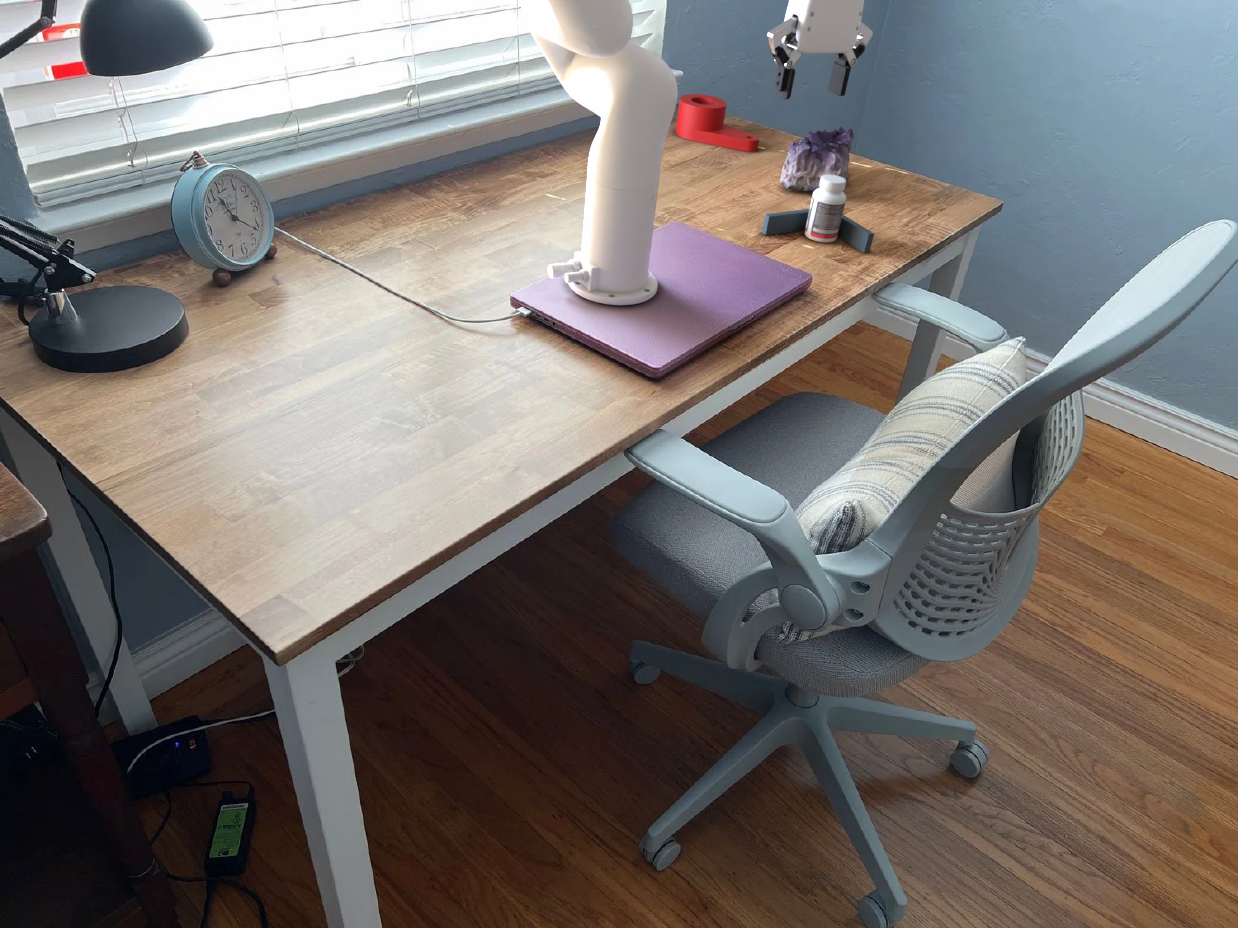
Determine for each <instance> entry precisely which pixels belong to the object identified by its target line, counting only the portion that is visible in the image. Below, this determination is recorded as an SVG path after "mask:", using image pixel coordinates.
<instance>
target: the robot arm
mask: <svg viewBox="0 0 1238 928" xmlns="http://www.w3.org/2000/svg"><path fill="white" fill-rule="evenodd" d="M864 4H865V0H788V4H787V8H786V11H785V16H784V21H782V22H781V23H779V24H778V25H776V26H775V27H773V28H772V29H770V30H769V31H768V32H767V39H768V45H769V47H770V48H769V52H770V54H771V56H772V57H773V59H774V63H775V64H776V65H777V67H776V73H775V77H774V83H773V90H772V91H773V94H774V95H775V96H777V97H779V98H781V99H783V100H790V98H791V97H792V90H793V88H794V87H793V86H794V81H795V76H796V69H795V68H793V67H794V66H795V64H796V63H797V62H798V61H799V60H800V58H802V56H803V55H826V54H828V55H829V54H830V55H831V54H834V55H835V56H836V59H837V60H834V61H833V63H832V66H831V72H830V74H829V75H830V77H829V81H828V85H827V90H828V92H830V93H833V94H835V95H836V96H839V97H844V96H845V95H846V92H847V87H848V83H849V78H850V75H851V70H852V67H855V65H856V64H857V62H858V59H859V58H860V57H861V55H863V54H864V52H865V51H866V47H867V46H868V44H869V42H870V41H871V39H872V37H873V35H874V31H873V30H872V29H871V28H869V27H868V26H867V24H865V23H863V22H862V19H863V18H862V17H863V12H864ZM520 7H521V11H522V15H523V19H524V22H525V24H526V26H527V28H528V30H529V32H530V34H531V36H532V37H533V39H534V41H535V43H536V44H537V46H538V48H539V49H540V51H541V53H542V54H543V56H544V58H545V59H546V61H547V63H548V65H549V66H550V68H551V70H552V71H553V74H554V75H555V76H556V78H557V80H558V81H559V83H560V84H561V86H562V87H563V89H564V90H565V91H566V93H567V94H568V96H569V97H571V98H572V99H573V100H574V101H575V102H576V103H578V104H579V105H580V106H582V107H584V108H586V109H587V110H589V111H590V112H593V113H594V114H595V115H596V116H598V117H600V124H599V127H598V130H597V132H596V134H595V136H594V138H593V141H592V142H591V146H590V150H589V154H588V160H587V169H586V170H587V172H586V187H585V198H584V199H585V200H584V214H583V226H582V239H581V250H579V251H574V252H573V259H568V261H567V262H557V263H550V264H548V265H547V275H548V277H549V279H559V278H563V279H564V280H563V281H564V282H565V283H566V284H568V286H569V287H570V289H571V290H572V291H573V292H574V293H575V294H576V295H578V296H580V297H582V298H584V299H586V300H588V301H592V302H595V303H598V304H603V305H608V306H609V305H610V306H631V305H637V304H638V305H639V304H641V303H645V302H646V301H649V300H650V299H652V298H653V297H654V296H655V295H656V294H657V291H658V286H659V285H658V284H659V283H658V279H657V277H656V276H655V275H654V273H652V271H650V270H649V267H650V260H651V259H650V257H651V251H652V244H653V236H654V235H653V234H654V227H655V219H656V210H657V201H658V194H659V193H658V192H659V186H660V177H661V169H662V162H663V157H664V150H665V144H666V141H667V136H668V133H669V129H670V127H671V124H672V121H673V117H674V114H675V111H676V108H677V102H678V96H679V95H678V93H679V92H678V91H679V90H678V83H677V80H676V77H675V75H674V72H673V70H672V69H671V67H670V66H669V65H668V64H667V62H666V61H664V59H663V58H661V57H660V56H658V55H657V54H656V53H654V52H653V51H650V50H648V49H647V48H644V47H642V46H640V45H638V44H636V43H634V42H631V41H630V39H631V36H632V33H633V27H634V15H633V9H632V6H631V3H630V0H520Z"/></svg>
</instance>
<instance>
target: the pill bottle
mask: <svg viewBox="0 0 1238 928" xmlns="http://www.w3.org/2000/svg"><path fill="white" fill-rule="evenodd" d="M846 184H847V182H846V180H845V179H844V178H843V177H840V176H837V175H823V176H822V177H821V180H820V185H819V186H820V188H818V189H816V190H815V191H812V195H811V200H810V204H809V205H810V206H809V208H808V209H809V213H808V218H807V223H806V227H805V230H804V235H805V237H806V238H807V239H810V240H812V241H815V242H818V243H825V244H826V243H832V242H835V241H836V240H837V239H838V236H837V235H838V231H839V227H840V223H841V219H842V215H844V211H845V207H846V203H847V195H846V193H845V192H843V191H844V190H845V189H846Z"/></svg>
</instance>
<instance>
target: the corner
mask: <svg viewBox="0 0 1238 928" xmlns="http://www.w3.org/2000/svg"><path fill="white" fill-rule="evenodd" d="M809 209H810V208H805V209H804V208H802V209H797V210H796V209H795V210H788V211H787V210H786V211H779V212H772V213H770V212H769V213H765V214H764V219H763V224H762V229H761V234H763V235H765V236H771V235H778V234H785V233H786V234H787V233H792V232H801V231H805V227H806V223H807V218H808V213H809ZM874 237H875V233H874V232H872V231H871V230H869V229H868V228H866V227H865V226H863V225H861V224H859V223H858V222H856V221H854V220H853V219H851V218H849V217H847V216H846V215H844V214H843V215H842V219H841V223H840V227H839V231H838V235H837V238H839V239H841V240H843V241H844V242H846V243H847V244H849V245H850V246H852V247H853V248H855V249H857V250H858V251H860V252H861V253H863V254H867V253H870V252H871V248H872V244H873V241H874Z"/></svg>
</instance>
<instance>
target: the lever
mask: <svg viewBox="0 0 1238 928" xmlns="http://www.w3.org/2000/svg"><path fill="white" fill-rule="evenodd" d="M727 105H728V103H727V101H725V100H724V99H723V98H720V97H717V96H713V95H708V94H702V93H701V94H699V93H688V94H683V95H681V96H680V98H679V103H678V111H677V119H676V126H675V134H676V135H677V136H678V137H680V138H682V139H685V140H689V141H692V142H698V143H701V144H707V145H713V146H717V147H723V148H726V149H727V148H728V149H733V150H738V151H743V152H749V153H755V152H758V150H759V149H758V148H759V144H760V137H758V136H756V135H754V134H751V133H749V132H747V131H744V130H741V129H738V128H736V127H734V126H731V125H728V124H726V123H725V118H726V110H727Z"/></svg>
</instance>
